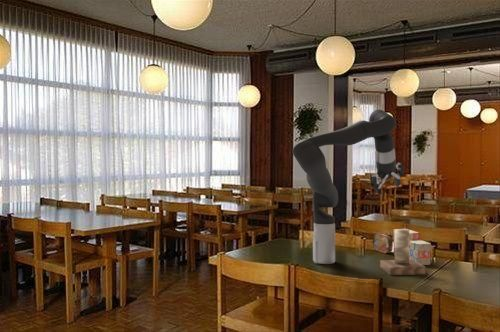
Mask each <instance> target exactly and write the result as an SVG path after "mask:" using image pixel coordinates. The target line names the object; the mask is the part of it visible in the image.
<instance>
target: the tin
mask: <svg viewBox="0 0 500 332" xmlns="http://www.w3.org/2000/svg"><path fill="white" fill-rule="evenodd" d="M372 245H373V247H374V250H375V251H377V252H380V253H383V254H390V253H392V252H393V249H394V240H393V238H392V237H391V236H390V235H386V234H383V233H377V232H376V233H375V234H374V235H373V238H372Z"/></svg>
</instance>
